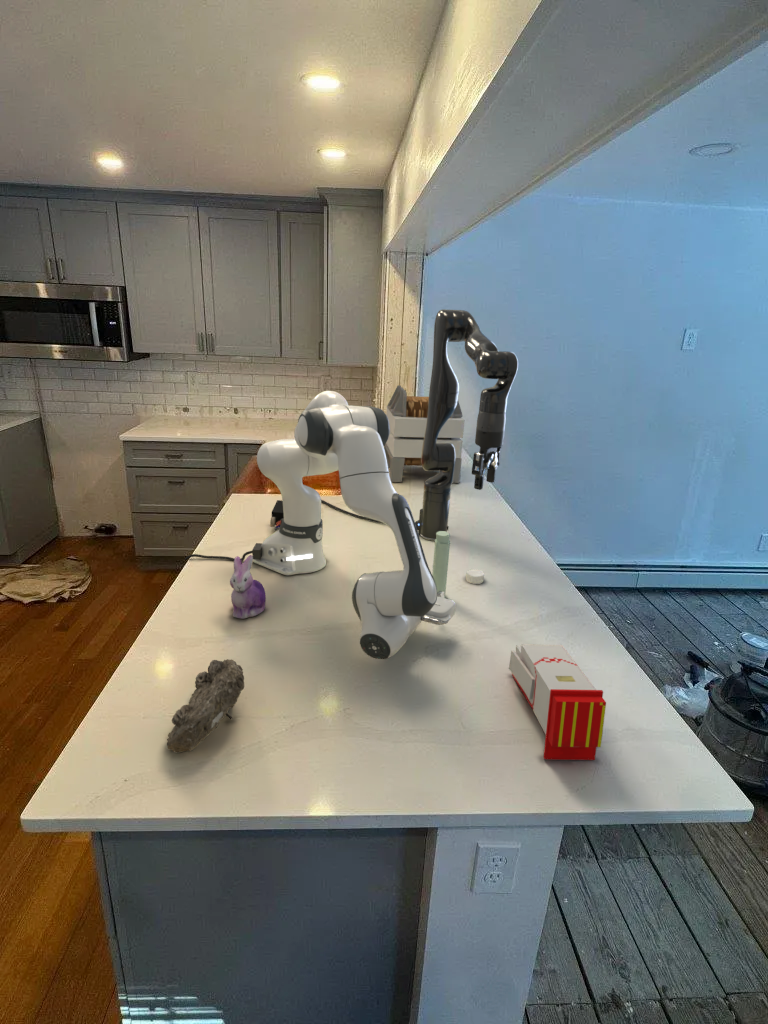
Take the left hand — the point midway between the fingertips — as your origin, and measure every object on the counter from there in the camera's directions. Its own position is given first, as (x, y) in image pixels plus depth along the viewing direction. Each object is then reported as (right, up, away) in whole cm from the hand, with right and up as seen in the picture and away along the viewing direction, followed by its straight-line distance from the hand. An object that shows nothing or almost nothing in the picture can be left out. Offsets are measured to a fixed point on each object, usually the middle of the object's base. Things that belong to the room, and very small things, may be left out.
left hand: (424, 589), depth 144 cm
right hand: (+18, +27, +14) cm, 35 cm away
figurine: (-45, -6, +1) cm, 45 cm away
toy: (+22, -20, -30) cm, 43 cm away
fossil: (-43, -19, -36) cm, 60 cm away
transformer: (+7, +39, +131) cm, 136 cm away
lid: (+17, +1, +23) cm, 29 cm away
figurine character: (-46, +15, +58) cm, 76 cm away
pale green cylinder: (+5, -4, +13) cm, 14 cm away
